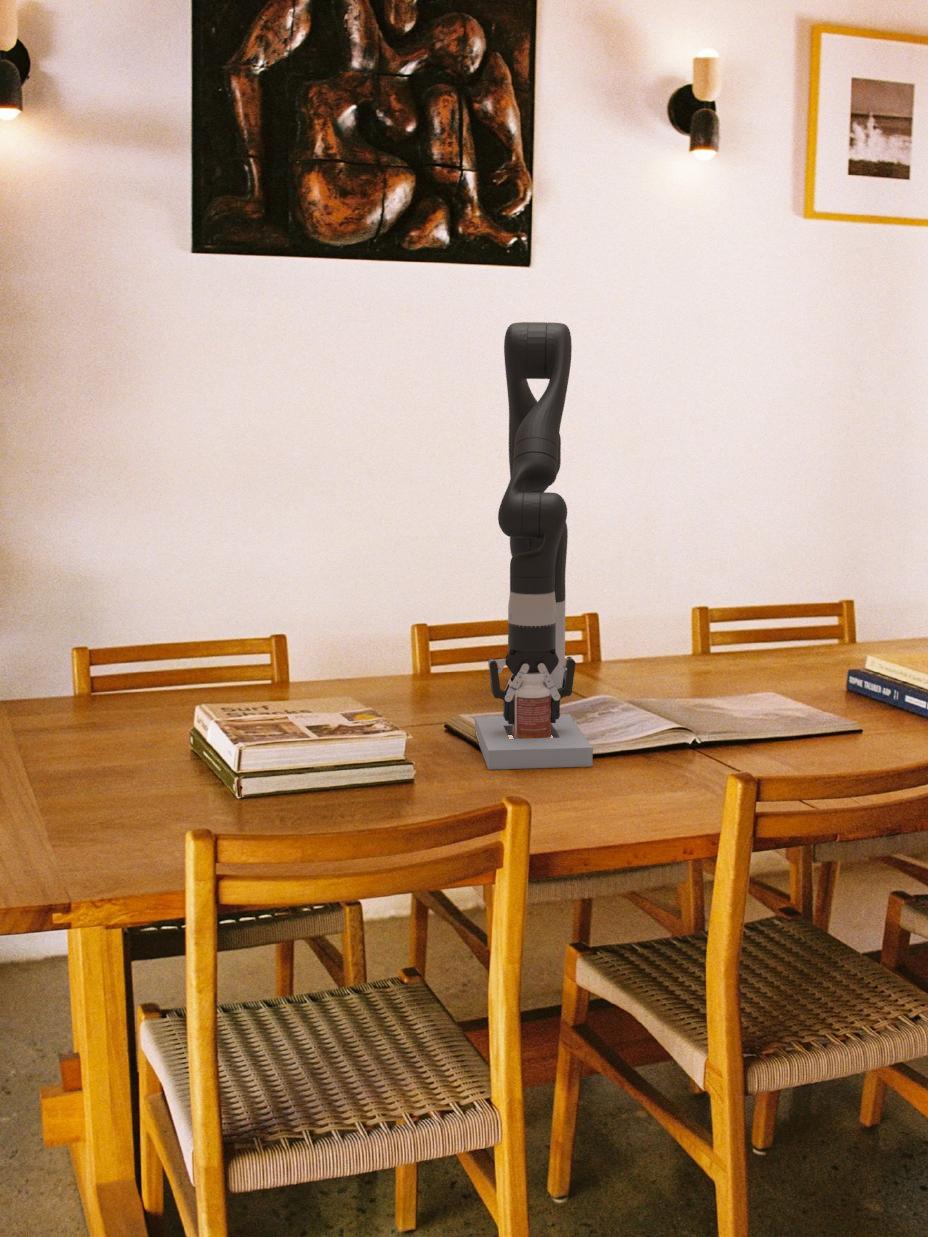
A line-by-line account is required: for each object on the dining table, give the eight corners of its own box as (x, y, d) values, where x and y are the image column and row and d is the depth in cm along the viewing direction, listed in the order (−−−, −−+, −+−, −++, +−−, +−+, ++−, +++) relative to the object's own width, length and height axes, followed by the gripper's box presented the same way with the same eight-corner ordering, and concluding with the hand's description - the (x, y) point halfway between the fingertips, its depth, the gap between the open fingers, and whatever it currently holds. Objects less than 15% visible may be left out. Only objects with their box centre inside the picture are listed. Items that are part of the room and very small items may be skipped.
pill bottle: (558, 740, 199) (559, 672, 197) (527, 746, 196) (528, 677, 194) (535, 731, 204) (535, 665, 202) (504, 737, 201) (504, 669, 199)
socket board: (475, 734, 210) (475, 716, 209) (569, 731, 211) (569, 714, 210) (488, 769, 190) (488, 750, 189) (592, 766, 191) (592, 747, 191)
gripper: (572, 614, 201) (571, 715, 204) (483, 616, 200) (483, 717, 203) (581, 623, 194) (580, 727, 197) (489, 624, 192) (489, 730, 196)
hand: (531, 722), depth 200 cm, fingers closed on pill bottle, 6 cm apart
